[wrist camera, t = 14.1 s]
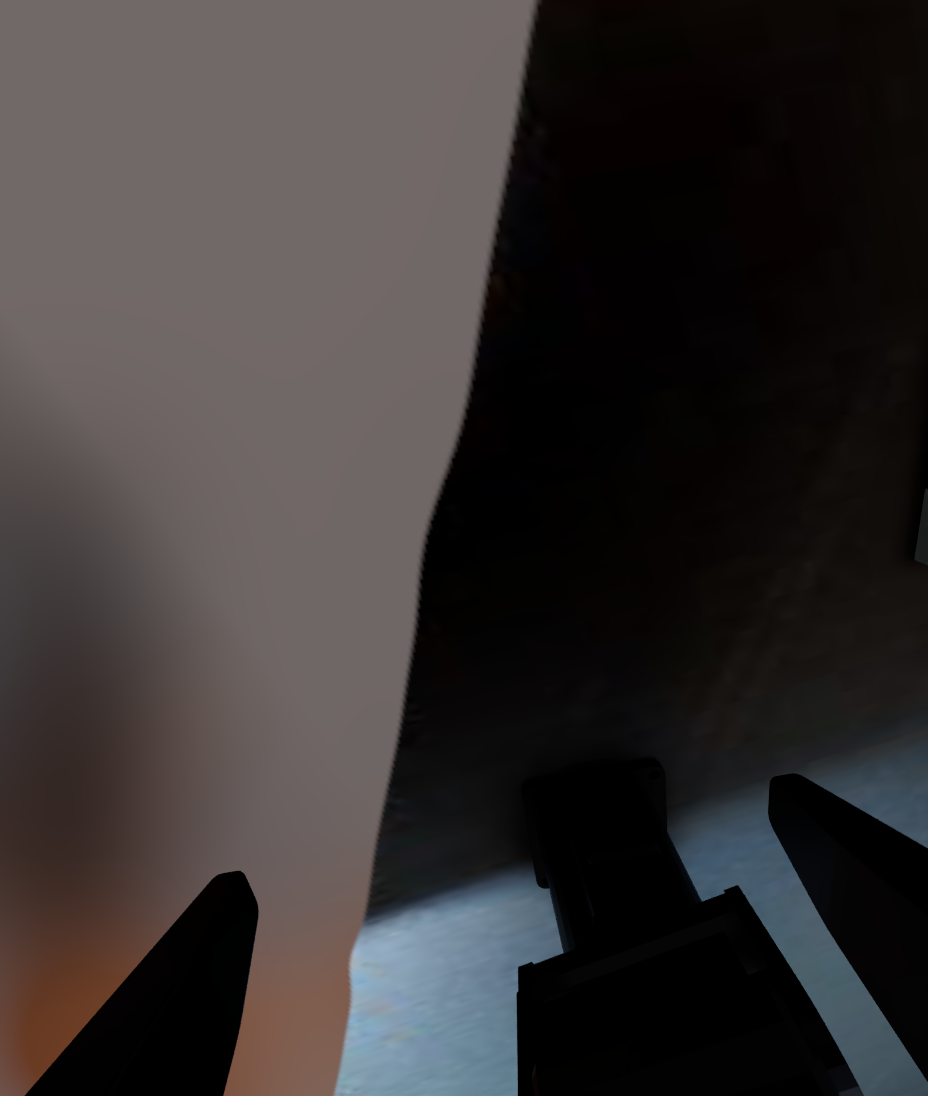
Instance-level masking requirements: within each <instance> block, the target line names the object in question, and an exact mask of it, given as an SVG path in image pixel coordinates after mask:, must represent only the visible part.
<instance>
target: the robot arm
mask: <svg viewBox="0 0 928 1096" xmlns="http://www.w3.org/2000/svg"><path fill="white" fill-rule="evenodd" d="M652 771H654V772H652ZM651 772H652V773H651ZM532 792H536V793H533V794H530V793H532ZM522 796H523V802H524V809H525V815H526V821H527V827H528V833H529V839H530V845H531V851H532V858H533V864H534V870H535V876H536V881H537V884H538V886H539V887H541V888H544V889H546V888H549V889H550V894H551V898H552V903H553V908H554V912H555V917H556V921H557V926H558V930H559V935H560V939H561V944H562V948H563V954H560V955H558V956H555V957H552V958H549V959H547V960H544V961H541V962H539V963H536V964H533V963H532V962H530V963H528V964H525V965H522V966H519V967H518V992H517V1055H518V1096H864V1095H863V1093H862V1091H861V1089H860V1087H859V1085H858V1083H857V1081H856V1079H855V1078H854V1076H853V1074H852V1072H851V1070H850V1068H849V1066H848V1064H847V1062H846V1061H845V1059H844V1057H843V1055H842V1053H841V1051H840V1050H839V1048H838V1046H837V1044H836V1042H835V1041H834V1039H833V1037H832V1035H831V1033H830V1032H829V1030H828V1028H827V1026H826V1025H825V1023H824V1021H823V1019H822V1018H821V1016H820V1014H819V1013H818V1011H817V1009H816V1008H815V1006H814V1004H813V1002H812V1001H811V999H810V997H809V996H808V994H807V993H806V991H805V989H804V988H803V986H802V985H801V983H800V981H799V980H798V978H797V977H796V975H795V974H794V972H793V970H792V969H791V967H790V966H789V964H788V963H787V961H786V959H785V958H784V956H783V955H782V953H781V952H780V950H779V948H778V947H777V945H776V944H775V942H774V941H773V939H772V938H771V936H770V934H769V933H768V931H767V930H766V928H765V927H764V925H763V923H762V922H761V920H760V919H759V917H758V916H757V914H756V913H755V911H754V909H753V908H752V906H751V905H750V903H749V902H748V900H747V898H746V897H745V895H744V894H743V892H742V891H741V889H740V887H739V886H738V885H737V886H734V887H731V888H729V889H726V890H724V892H725V893H724V894H721V895H719V896H716V897H713V898H711V899H708V900H705V901H703V902H702V901H701V899H700V897H699V895H698V893H697V891H696V889H695V887H694V885H693V883H692V881H691V879H690V877H689V875H688V873H687V871H686V868H685V866H684V864H683V862H682V860H681V858H680V856H679V854H678V852H677V850H676V848H675V846H674V844H673V842H672V840H671V838H670V836H669V834H668V832H667V815H666V786H665V772H664V769H663V767H662V766H661V764H660V763H659V762H658V761H655V760H648V761H643V762H637V763H631V764H626V765H620V766H614V767H608V768H603V769H597V770H591V771H586V772H580V773H574V774H568V775H563V776H557V777H551V778H545V779H540V780H534V781H530V782H527V783H526V784H524V785H523V787H522ZM768 815H769V820H770V823H771V825H772V828H773V830H774V832H775V834H776V835H777V837H778V839H779V841H780V843H781V845H782V846H783V848H784V850H785V852H786V854H787V856H788V858H789V859H790V861H791V863H792V865H793V867H794V869H795V871H796V872H797V874H798V876H799V878H800V880H801V882H802V884H803V885H804V887H805V889H806V891H807V893H808V895H809V897H810V898H811V900H812V902H813V904H814V906H815V908H816V910H817V911H818V913H819V915H820V917H821V918H822V920H823V922H824V924H825V925H826V927H827V929H828V930H829V932H830V933H831V935H832V937H833V938H834V940H835V941H836V943H837V945H838V946H839V948H840V949H841V951H842V952H843V954H844V955H845V957H846V958H847V960H848V961H849V963H850V964H851V966H852V967H853V969H854V970H855V972H856V973H857V975H858V977H859V978H860V980H861V981H862V983H863V984H864V986H865V987H866V989H867V990H868V992H869V993H870V995H871V996H872V998H873V999H874V1001H875V1002H876V1004H877V1005H878V1007H879V1008H880V1010H881V1012H882V1013H883V1015H884V1016H885V1018H886V1019H887V1021H888V1022H889V1024H890V1025H891V1027H892V1028H893V1030H894V1031H895V1033H896V1034H897V1036H898V1037H899V1039H900V1040H901V1042H902V1043H903V1045H904V1047H905V1048H906V1050H907V1051H908V1053H909V1054H910V1056H911V1057H912V1059H913V1060H914V1062H915V1063H916V1065H917V1066H918V1068H919V1069H920V1071H921V1072H922V1074H923V1075H924V1077H925V1078H926V1080H927V1082H928V848H926V847H924V846H923V845H921V844H919V843H918V842H916V841H914V840H912V839H911V838H909V837H907V836H905V835H904V834H902V833H900V832H898V831H897V830H895V829H893V828H892V827H890V826H888V825H886V824H885V823H883V822H881V821H879V820H878V819H876V818H874V817H872V816H871V815H869V814H867V813H866V812H864V811H862V810H860V809H859V808H857V807H855V806H853V805H852V804H850V803H848V802H847V801H845V800H843V799H841V798H840V797H838V796H836V795H834V794H833V793H831V792H829V791H827V790H826V789H824V788H822V787H821V786H819V785H817V784H815V783H814V782H812V781H810V780H808V779H807V778H805V777H803V776H801V775H799V774H795V773H793V774H786V775H780V776H775V777H773V778H772V779H771V781H770V787H769V805H768ZM257 922H258V904H257V901H256V898H255V896H254V894H253V892H252V889H251V887H250V885H249V883H248V880H247V878H246V876H245V874H244V873H243V872H241V871H233V872H227V873H222V874H219V875H217V876H215V877H214V878H213V879H212V880H211V881H210V882H209V884H208V885H207V886H206V887H205V888H204V889H203V891H202V892H201V893H200V894H199V895H198V896H197V897H196V898H195V900H194V901H193V902H192V903H191V904H190V905H189V907H188V908H187V909H186V910H185V911H184V912H183V913H182V915H181V916H180V917H179V918H178V919H177V920H176V922H175V923H174V924H173V925H172V926H171V927H170V929H169V930H168V931H167V932H166V933H165V934H164V935H163V937H162V938H161V939H160V940H159V941H158V942H157V944H156V945H155V946H154V947H153V948H152V949H151V950H150V952H149V953H148V954H147V955H146V956H145V957H144V959H143V960H142V961H141V962H140V963H139V964H138V965H137V967H136V968H135V969H134V970H133V971H132V972H131V974H130V975H129V976H128V977H127V978H126V979H125V980H124V982H123V983H122V984H121V985H120V986H119V987H118V988H117V990H116V991H115V992H114V993H113V994H112V996H111V997H110V998H109V999H108V1000H107V1001H106V1002H105V1004H104V1005H103V1006H102V1007H101V1008H100V1009H99V1010H98V1012H97V1013H96V1014H95V1015H94V1016H93V1017H92V1018H91V1020H90V1021H89V1022H88V1023H87V1024H86V1025H85V1027H84V1028H83V1029H82V1030H81V1031H80V1032H79V1034H78V1035H77V1036H76V1037H75V1038H74V1039H73V1040H72V1042H71V1043H70V1044H69V1045H68V1046H67V1047H66V1048H65V1050H64V1051H63V1052H62V1053H61V1054H60V1055H59V1057H58V1058H57V1059H56V1060H55V1061H54V1062H53V1063H52V1065H51V1066H50V1067H49V1068H48V1069H47V1070H46V1072H45V1073H44V1074H43V1075H42V1076H41V1077H40V1079H39V1080H38V1081H37V1082H36V1083H35V1084H34V1085H33V1087H32V1088H31V1089H30V1090H29V1091H28V1092H27V1094H26V1095H25V1096H223V1095H224V1091H225V1086H226V1083H227V1079H228V1075H229V1071H230V1067H231V1063H232V1059H233V1055H234V1051H235V1047H236V1043H237V1039H238V1034H239V1029H240V1025H241V1019H242V1014H243V1008H244V1002H245V996H246V989H247V984H248V978H249V972H250V965H251V959H252V953H253V947H254V941H255V935H256V928H257Z"/></svg>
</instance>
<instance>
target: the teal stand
mask: <svg viewBox="0 0 928 1096" xmlns="http://www.w3.org/2000/svg"><path fill="white" fill-rule="evenodd" d="M914 560H916V561H918V562H920V563H923V564H925V565H928V488H927V489H925V494H924V501H923V507H922V513H921V520H920V526H919V533H918V539H917V546H916V552H915V559H914Z"/></svg>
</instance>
